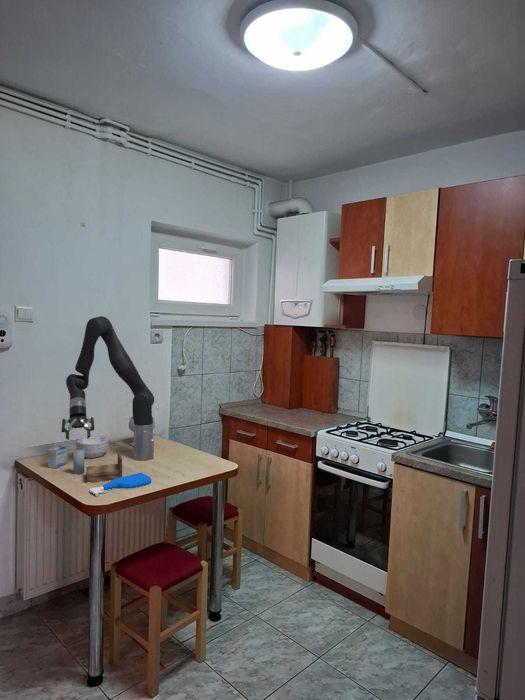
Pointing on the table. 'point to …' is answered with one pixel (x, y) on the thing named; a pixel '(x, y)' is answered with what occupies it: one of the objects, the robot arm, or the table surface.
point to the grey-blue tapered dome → (78, 461)
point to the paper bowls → (93, 446)
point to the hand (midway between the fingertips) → (78, 438)
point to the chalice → (131, 426)
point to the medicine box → (57, 456)
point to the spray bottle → (124, 483)
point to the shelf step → (105, 471)
